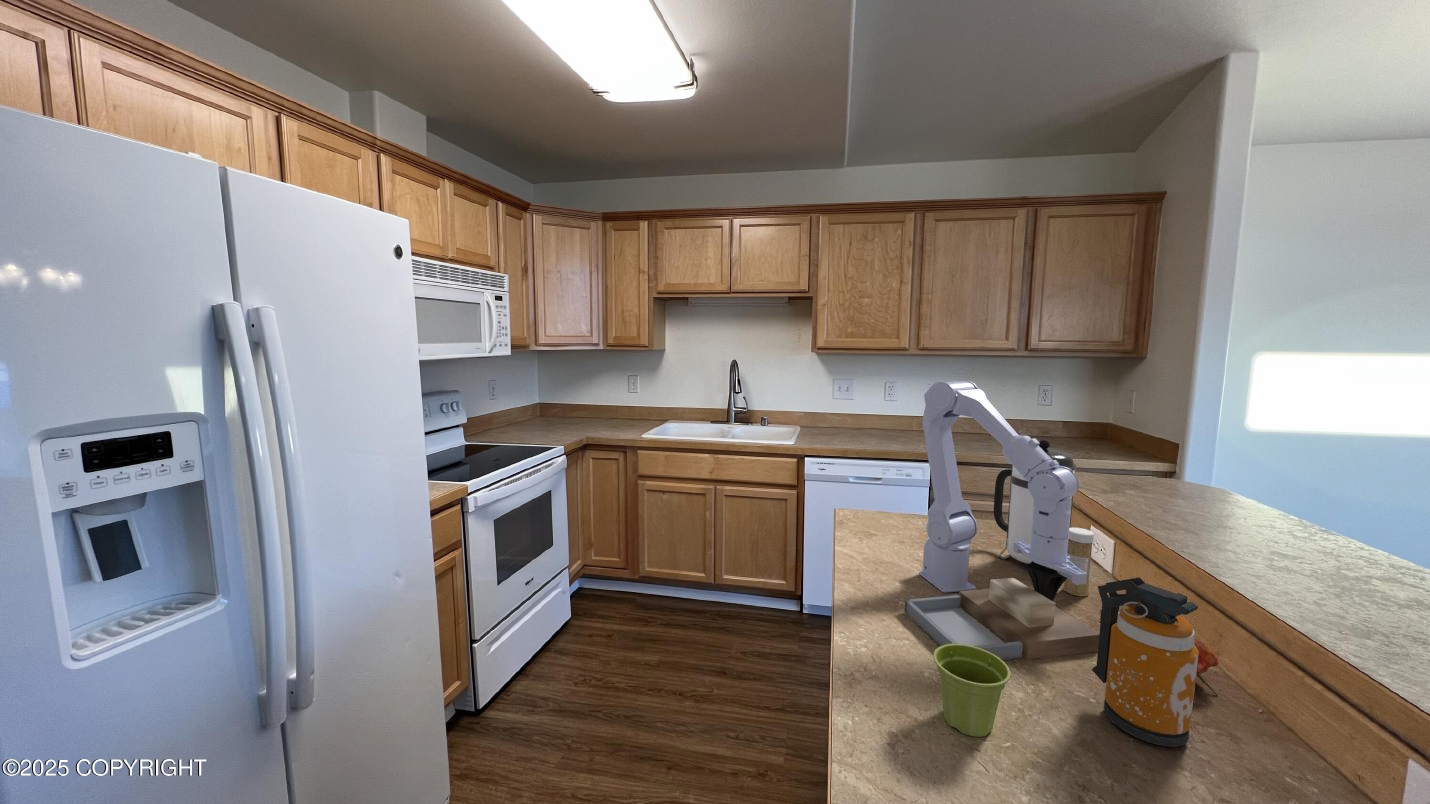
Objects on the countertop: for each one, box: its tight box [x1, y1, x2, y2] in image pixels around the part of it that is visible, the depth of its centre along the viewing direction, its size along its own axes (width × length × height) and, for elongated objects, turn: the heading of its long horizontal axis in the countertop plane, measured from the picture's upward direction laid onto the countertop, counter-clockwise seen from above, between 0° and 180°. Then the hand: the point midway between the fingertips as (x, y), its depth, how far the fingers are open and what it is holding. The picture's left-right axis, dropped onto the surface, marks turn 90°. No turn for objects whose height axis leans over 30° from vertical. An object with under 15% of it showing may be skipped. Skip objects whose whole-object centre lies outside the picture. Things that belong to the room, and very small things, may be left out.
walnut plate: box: [958, 588, 1099, 660], centre depth 96 cm, size 18×14×3 cm
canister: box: [1091, 576, 1199, 747], centre depth 71 cm, size 9×11×20 cm
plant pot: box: [933, 644, 1011, 738], centre depth 72 cm, size 9×9×9 cm
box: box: [904, 594, 1023, 661], centre depth 94 cm, size 17×11×2 cm
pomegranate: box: [1194, 637, 1220, 697], centre depth 80 cm, size 7×7×10 cm
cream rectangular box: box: [989, 577, 1056, 627], centre depth 95 cm, size 10×5×4 cm, turn 10°
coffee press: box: [993, 439, 1077, 564], centre depth 123 cm, size 17×16×30 cm
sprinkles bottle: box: [1062, 527, 1095, 597], centre depth 109 cm, size 5×5×14 cm
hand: (1044, 604), depth 96 cm, fingers closed
